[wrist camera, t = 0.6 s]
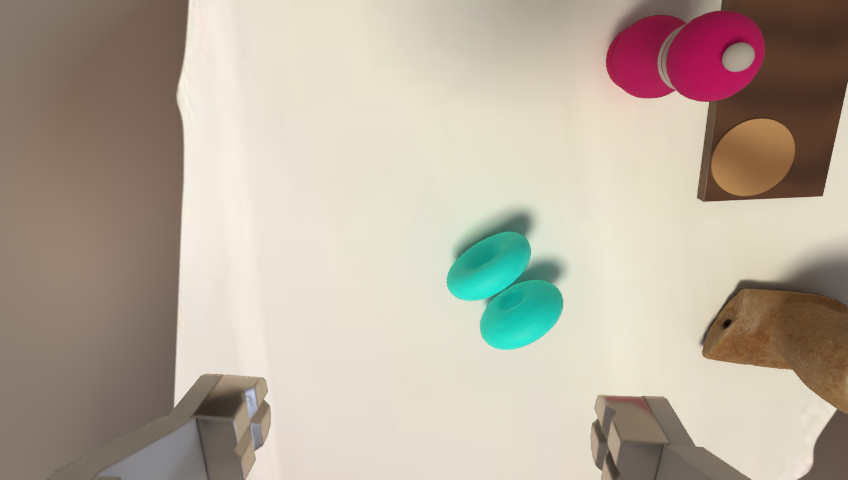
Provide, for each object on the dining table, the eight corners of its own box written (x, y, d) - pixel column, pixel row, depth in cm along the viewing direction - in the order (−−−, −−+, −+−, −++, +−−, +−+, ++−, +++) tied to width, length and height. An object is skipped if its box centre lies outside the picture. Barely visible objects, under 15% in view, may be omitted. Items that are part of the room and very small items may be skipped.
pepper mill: (688, 64, 49) (828, 68, 30) (623, 109, 51) (717, 139, 32) (652, 2, 47) (777, -35, 29) (586, 51, 49) (663, 46, 30)
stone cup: (860, 280, 55) (996, 355, 41) (817, 367, 60) (926, 462, 46) (727, 260, 56) (817, 328, 42) (693, 348, 60) (764, 436, 46)
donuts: (486, 321, 61) (491, 369, 51) (443, 259, 58) (439, 297, 49) (558, 283, 58) (577, 326, 49) (516, 216, 56) (527, 247, 46)
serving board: (725, -27, 46) (735, -30, 44) (862, -39, 45) (877, -43, 43) (696, 198, 53) (704, 202, 52) (813, 192, 52) (825, 197, 51)
